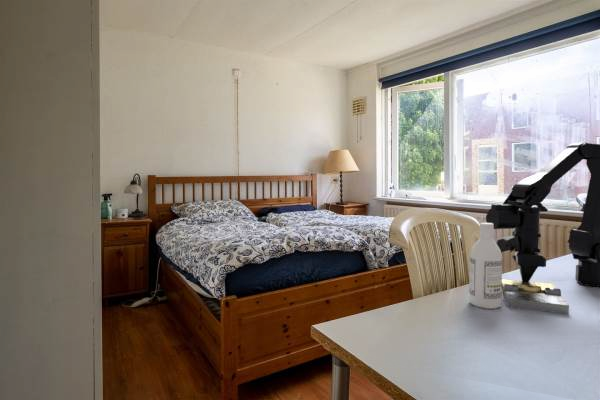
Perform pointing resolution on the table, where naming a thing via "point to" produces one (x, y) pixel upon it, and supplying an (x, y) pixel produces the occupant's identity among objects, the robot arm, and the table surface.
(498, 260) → the bath foam
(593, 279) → the robot arm
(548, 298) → the fixed leaf
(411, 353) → the table surface
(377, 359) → the table surface
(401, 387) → the table surface
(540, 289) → the brass hinge plate
